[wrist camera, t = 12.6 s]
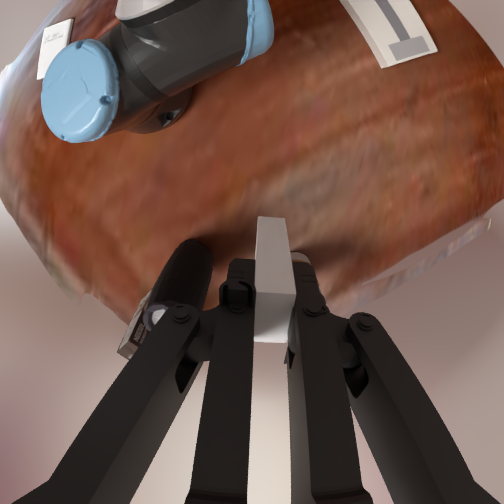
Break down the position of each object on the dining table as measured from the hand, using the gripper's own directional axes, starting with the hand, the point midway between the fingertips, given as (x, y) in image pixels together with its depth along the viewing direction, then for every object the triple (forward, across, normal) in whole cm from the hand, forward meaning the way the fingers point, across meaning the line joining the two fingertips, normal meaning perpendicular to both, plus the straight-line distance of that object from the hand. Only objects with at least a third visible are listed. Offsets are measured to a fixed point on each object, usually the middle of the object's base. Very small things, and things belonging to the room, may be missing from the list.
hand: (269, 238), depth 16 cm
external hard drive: (+34, -43, +24) cm, 60 cm away
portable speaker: (+32, -12, -22) cm, 41 cm away
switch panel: (+33, +16, +31) cm, 48 cm away
